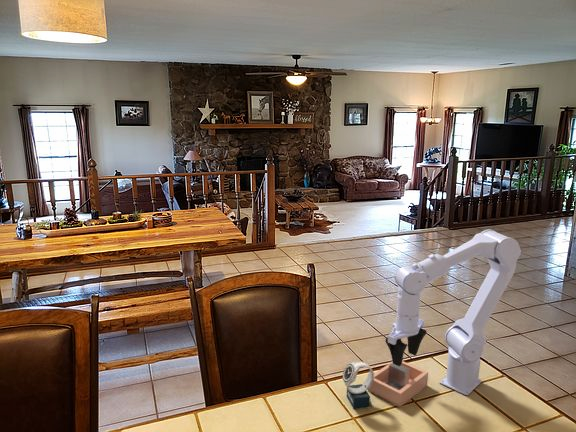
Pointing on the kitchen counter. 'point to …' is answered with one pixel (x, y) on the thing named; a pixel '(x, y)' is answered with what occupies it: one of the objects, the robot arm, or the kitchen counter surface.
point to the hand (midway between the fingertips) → (404, 359)
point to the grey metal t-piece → (398, 376)
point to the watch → (357, 392)
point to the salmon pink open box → (400, 397)
